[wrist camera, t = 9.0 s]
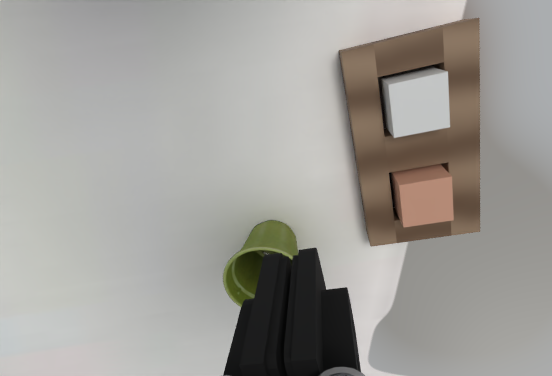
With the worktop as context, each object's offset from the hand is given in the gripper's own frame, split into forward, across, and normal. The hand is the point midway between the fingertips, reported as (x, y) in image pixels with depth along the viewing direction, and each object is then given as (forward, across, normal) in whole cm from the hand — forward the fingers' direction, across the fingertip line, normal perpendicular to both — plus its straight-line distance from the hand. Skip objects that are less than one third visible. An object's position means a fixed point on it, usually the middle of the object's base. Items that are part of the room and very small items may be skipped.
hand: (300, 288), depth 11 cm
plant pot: (+29, +8, +16) cm, 34 cm away
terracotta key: (+28, -10, +11) cm, 31 cm away
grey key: (+28, -10, +1) cm, 29 cm away
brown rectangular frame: (+29, -10, +6) cm, 31 cm away
